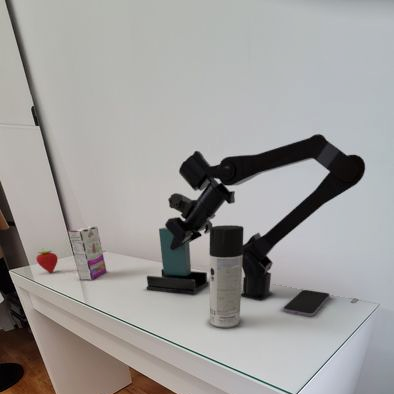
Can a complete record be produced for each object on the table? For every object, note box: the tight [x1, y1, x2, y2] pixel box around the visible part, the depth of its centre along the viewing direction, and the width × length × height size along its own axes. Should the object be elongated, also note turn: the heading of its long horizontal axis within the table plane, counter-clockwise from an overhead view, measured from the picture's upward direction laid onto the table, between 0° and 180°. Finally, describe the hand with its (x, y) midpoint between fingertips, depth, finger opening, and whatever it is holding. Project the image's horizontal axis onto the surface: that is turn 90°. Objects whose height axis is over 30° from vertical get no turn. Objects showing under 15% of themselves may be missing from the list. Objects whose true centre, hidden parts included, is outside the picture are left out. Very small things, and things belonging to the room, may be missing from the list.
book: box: [158, 226, 192, 276], centre depth 84 cm, size 3×8×13 cm, turn 65°
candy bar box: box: [67, 225, 108, 281], centre depth 101 cm, size 11×5×16 cm, turn 168°
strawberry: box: [36, 248, 58, 274], centre depth 110 cm, size 6×8×10 cm
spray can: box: [208, 224, 245, 329], centre depth 59 cm, size 7×7×20 cm
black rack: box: [146, 268, 209, 296], centre depth 88 cm, size 16×11×4 cm
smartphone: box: [282, 289, 331, 317], centre depth 72 cm, size 7×1×15 cm
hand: (174, 248), depth 84 cm, fingers closed on book, 3 cm apart
